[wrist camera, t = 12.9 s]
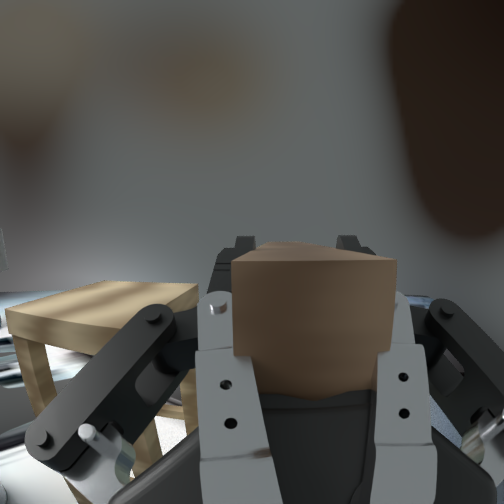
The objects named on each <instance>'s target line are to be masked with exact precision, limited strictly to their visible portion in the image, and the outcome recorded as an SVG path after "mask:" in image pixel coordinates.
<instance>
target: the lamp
mask: <svg viewBox="0 0 504 504" xmlns="http://www.w3.org/2000/svg"><path fill="white" fill-rule="evenodd" d="M5 270H8V264H7V258H6V253H5V246H4V240H3V233H2V228H0V271H5ZM0 327H1V317H0Z"/></svg>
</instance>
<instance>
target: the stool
mask: <svg viewBox="0 0 504 504" xmlns="http://www.w3.org/2000/svg"><path fill="white" fill-rule="evenodd" d="M198 302H199V293H198V284H185V283H150V282H124V281H101V282H97V283H94V284H90V285H86V286H83V287H79V288H76V289H72V290H69V291H65V292H62V293H58V294H55V295H51V296H48V297H44V298H41V299H37V300H34V301H30V302H27V303H23V304H20V305H16V306H13V307H10V308H6V309H5V315H6V321H7V326H8V331H9V334H12V337H13V341H14V346H15V350H16V355H17V359H18V363H19V366H20V370H21V374H22V377H23V381H24V384H25V387H26V390H27V393H28V397H29V399H30V402H31V405H32V408H33V411H34V413H35V416H36V418H37V417H38V416H39V414H40V413H41V412H42V411H43V410H44V409H45V408H46V407H47V406H48V405H49V403H50V402H51V401H52V400H53V399H54V398H55V397H56V396H57V393H56V389H55V386H54V382H53V378H52V374H51V370H50V366H49V362H48V358H47V353H46V349H45V344H47V345H51V346H55V347H59V348H63V349H68V350H72V351H77V352H81V353H86V354H91V355H96V354H97V353H98V352H99V351H100V349H101V348H102V347H103V346H104V345H105V344H106V343H107V342H108V341H109V340H110V339H111V338H112V337H113V336H114V335H115V334H116V333H117V332H118V331H119V330H120V329H121V328H122V327H123V326H124V325H125V324H126V323H127V322H128V321H129V320H130V319H131V318H132V317H133V316H134V315H135V314H136V313H137V312H138V311H139V310H141V309H142V308H144V307H146V306H148V305H151V304H164V305H167V306H168V307H170V308H171V309H172V311H173V313H175V312H180V311H185V310H189V309H192V308H194V307H196V306H197V303H198ZM180 390H181V398H182V405H183V407H180V406H173V405H166V404H164V405H163V407H162V408H161V409H160V411H159V412H158V413H157V415H156V416H161V417H167V418H174V419H181V420H185V426H186V433H187V435H189V434H190V433H191V432H192V431H193V430H194V429H196V428H197V427H198V426H199V425H198V409H197V390H196V368H194V369H190V370H189V372H188V374H187V375H186V376H185V378H184V379H183V380H182V382H181V383H180ZM133 447H134V450H135V453H136V459H135V463H134V465H133V467H132V471H133V474H134V476H135V478H136V477H137V476H138V475H140V474H141V473H142V472H144V471H145V470H146V469H147V468H149V467H150V466H151V465H152V464H154V463H155V462H156V461H158V460H159V459H160V458H161V457H162V456H163V455H162V451H161V447H160V443H159V438H158V434H157V429H156V424H155V420H154V419H153V420H152V421H151V422H150V424H149V425H148V426H147V428H146V429H145V430H144V432H143V433H142V434H141V435H140V437H139V438H138V439H137V441H136V442H135V443H134V444H133ZM62 476H63V475H62ZM63 477H64V476H63ZM64 479H65V481H66V483H67V485H68V486H69V488H70V490H71V492H72V493H73V495H74V497H75V498H76V500H77V501H78V503H79V504H93V503H92V502H91V501H89V500H88V499H87V498H86V497H85V496H84V495H83V494H82V493H81V492H79V491H78V490H77V489H76V488H75V487H74V486H73V485H72V484H71V483H70V482H69V481H68V480H67V479H66V478H65V477H64ZM133 479H134V478H132V477H130V481H132V480H133Z"/></svg>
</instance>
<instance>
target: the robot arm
mask: <svg viewBox="0 0 504 504" xmlns="http://www.w3.org/2000/svg"><path fill="white" fill-rule="evenodd" d="M255 249H256V246H255V236H237V239H236V243H235V248H224V249H223V250H222V251H221V252H220V253H219V254H218V256H217V259H216V263H215V266H214V271H213V273H212V277H211V280H210V284H209V288H208V291H207V294H206V295H205V296H203V297H202V298H201V299H200V301H199V302H198V305H197V306H196V307H194V308H192V309H189V310H185V311H180V312H175V313H173V311H172V309H171V308H170V307H168V306H167V305H164V304H151V305H148V306H146V307H144V308H142V309H141V310H139V311H138V312H137V313H136V314H135V315H134V316H133V317H132V318H131V319H130V320H129V321H128V322H127V323H126V324H125V325H124V326H123V327H122V328H121V329H120V330H119V331H118V332H117V333H116V334H115V335H114V336H113V337H112V338H111V339H110V340H109V341H108V342H107V343H106V344H105V345H104V346H103V347H102V348H101V349H100V351H99V352H98V353H97V354H96V355H95V356H94V357H93V358H92V359H91V360H90V361H89V362H88V363H87V364H86V365H85V366H84V367H83V368H82V369H81V370H80V371H79V372H78V373H77V374H76V376H75V377H74V378H73V379H72V380H71V381H70V382H69V383H68V384H67V385H66V386H65V387H64V388H63V390H61V391H60V393H59V394H58V395H57V396H56V397H55V398H54V399H53V400H52V401H51V402H50V403H49V405H48V406H47V407H46V408H45V409H44V410H43V411H42V412H41V413H40V414H39V416H38V417H37V418H36V419H35V420H34V421H33V422H32V423H31V424H30V426H29V427H28V429H27V431H26V434H25V446H26V449H27V451H28V453H29V454H30V455H31V456H32V457H33V458H35V459H36V460H38V461H40V462H41V463H43V464H44V465H46V466H48V467H49V468H51V469H53V470H54V471H56V472H58V473H59V474H61V475H63V476H64V477H65V478H66V479H67V480H68V481H69V482H70V483H71V484H72V485H73V486H74V487H75V488H76V489H77V490H78V491H79V492H81V493H82V494H83V495H84V496H85V497H86V498H87V499H88V500H89V501H91V502H92V503H93V504H496V502H497V490H496V487H497V486H498V485H499V484H500V483H501V482H502V481H503V479H504V352H503V351H502V350H501V349H500V348H499V347H498V346H497V345H496V343H495V342H493V340H492V339H491V338H490V337H489V336H488V335H487V334H486V333H485V332H484V331H483V330H482V329H481V328H480V327H479V326H478V325H477V324H476V323H475V322H474V321H473V320H472V319H471V318H470V317H469V316H468V315H467V314H466V313H465V312H464V311H463V310H462V309H461V308H460V307H459V306H457V305H456V304H455V303H454V302H452V301H450V300H447V299H436V300H434V301H432V302H431V304H430V306H429V309H425V308H419V307H414V306H410V305H409V302H408V300H407V298H406V297H405V296H404V295H403V294H402V293H400V292H398V291H396V294H395V309H394V320H393V330H392V339H391V347H390V351H382V352H377V357H376V361H375V365H374V369H373V373H372V377H371V385H372V386H371V389H366V390H356V391H348V392H345V393H342V394H338V395H335V396H332V397H328V398H325V399H322V400H318V401H310V400H305V399H300V398H295V397H290V396H285V395H280V394H258V391H257V386H256V381H255V376H254V371H253V366H252V360H251V356H233V325H232V283H231V261H232V260H234V259H236V258H238V257H240V256H242V255H244V254H246V253H248V252H250V251H253V250H255ZM336 249H341V250H348V251H354V252H359V253H365V254H370V255H375V256H376V254H375V253H374V252H373V251H372V250H370V249H369V248H368V247H361V245H360V243H359V241H358V239H357V237H356V236H355V235H339V236H338V238H337V244H336ZM446 348H447V349H448V350H449V351H450V352H451V353H452V355H453V356H454V357H455V358H456V359H457V360H458V361H459V363H460V364H461V365H462V366H463V368H464V371H465V375H464V377H463V376H462V375H461V374H460V373H459V371H458V370H457V369H456V368H455V367H454V366H453V365H452V363H451V362H450V361H449V360H448V359H447V358H446V356H445V355H444V354H443V353H444V352H445V350H446ZM194 368H196V390H197V409H198V425H199V426H198V427H197V428H196V429H194V430H193V431H192V432H191V433H190V434H189V435H187V436H186V437H185V438H184V439H183V440H182V441H180V442H179V443H178V444H177V445H176V446H175V447H173V448H172V449H171V450H170V451H169V452H167V453H166V454H165V455H164V456H162V457H161V458H160V459H159V460H158V461H156V462H155V463H154V464H152V465H151V466H150V467H149V468H147V469H146V470H145V471H144V472H142V473H141V474H140V475H138V476H137V477H136V478H134V479H133V480H132V481H130V471H131V469H132V467H133V465H134V463H135V459H136V453H135V450H134V447H133V444H134V443H135V442H136V441H137V439H138V438H139V437H140V435H141V434H142V433H143V432H144V430H145V429H146V428H147V426H148V425H149V424H150V422H151V421H152V420H153V419H154V417H155V416H156V415H157V413H158V412H159V411H160V409H161V408H162V407H163V405H164V404H165V403H166V401H167V400H168V399H169V398H170V396H171V395H172V394H173V392H174V391H175V390H176V388H177V387H178V386H179V384H180V383H181V382H182V380H183V379H184V378H185V376H186V375H187V374H188V372H189V370H190V369H194ZM429 394H430V395H431V396H432V398H433V399H434V400H435V402H436V403H437V404H438V406H439V407H440V408H441V410H442V411H443V412H444V414H445V415H446V416H447V418H448V419H449V420H450V422H451V423H452V424H453V426H454V427H455V428H456V430H457V431H458V433H459V434H460V435H461V437H462V446H461V447H460V449H459V448H458V447H457V446H455V445H454V444H453V443H452V442H451V441H449V440H448V439H447V438H446V437H445V436H443V435H442V434H441V433H440V432H439V431H437V430H436V429H435V428H434V427H433V426H432V425H431V412H430V396H429ZM6 500H7V494H6V491H5V489H4V487H3V486H2V484H1V483H0V504H6Z"/></svg>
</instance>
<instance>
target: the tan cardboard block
mask: <svg viewBox="0 0 504 504" xmlns="http://www.w3.org/2000/svg"><path fill="white" fill-rule="evenodd" d="M396 274H397V260H396V259H391V258H386V257H381V256H375V255H370V254H365V253H359V252H354V251H348V250H341V249H336V248H332V247H325V246H320V245H315V244H309V243H303V242H267V243H265V244H263V245H261V246H259V247H257V248H256V249H255V250H253V251H250V252H248V253H246V254H244V255H242V256H240V257H238V258H236V259H234V260H232V261H231V283H232V325H233V356H251V360H252V366H253V371H254V376H255V381H256V386H257V391H258V394H280V395H285V396H290V397H295V398H300V399H305V400H310V401H318V400H322V399H325V398H328V397H332V396H335V395H338V394H342V393H345V392H348V391H356V390H366V389H371V386H372V385H371V377H372V373H373V369H374V365H375V361H376V357H377V352H382V351H390V347H391V339H392V330H393V320H394V309H395V294H396Z"/></svg>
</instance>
